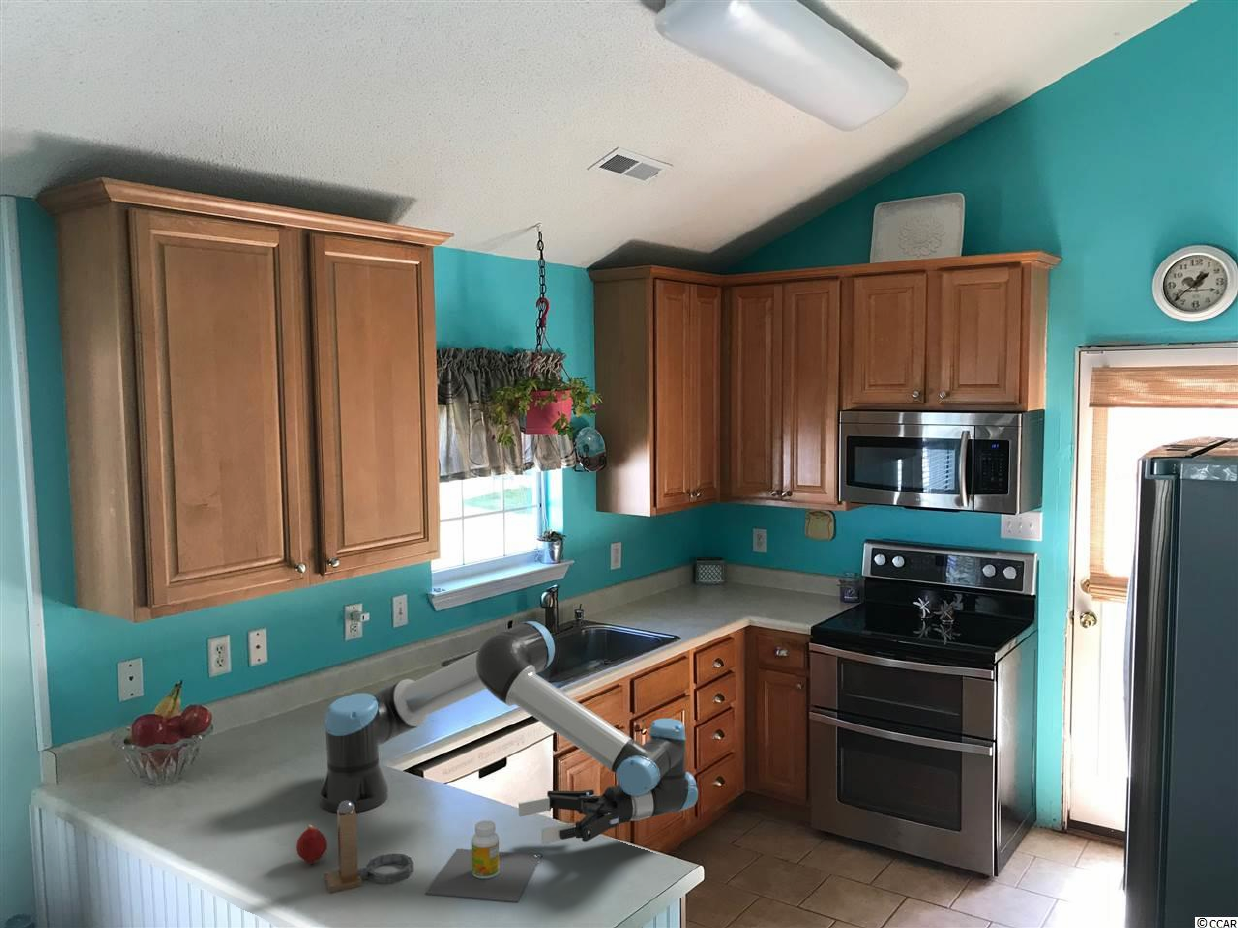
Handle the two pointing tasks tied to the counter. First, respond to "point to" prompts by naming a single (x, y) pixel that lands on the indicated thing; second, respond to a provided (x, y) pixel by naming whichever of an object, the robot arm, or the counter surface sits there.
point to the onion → (311, 845)
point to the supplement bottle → (485, 850)
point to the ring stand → (348, 857)
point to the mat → (500, 887)
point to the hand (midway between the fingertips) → (530, 822)
